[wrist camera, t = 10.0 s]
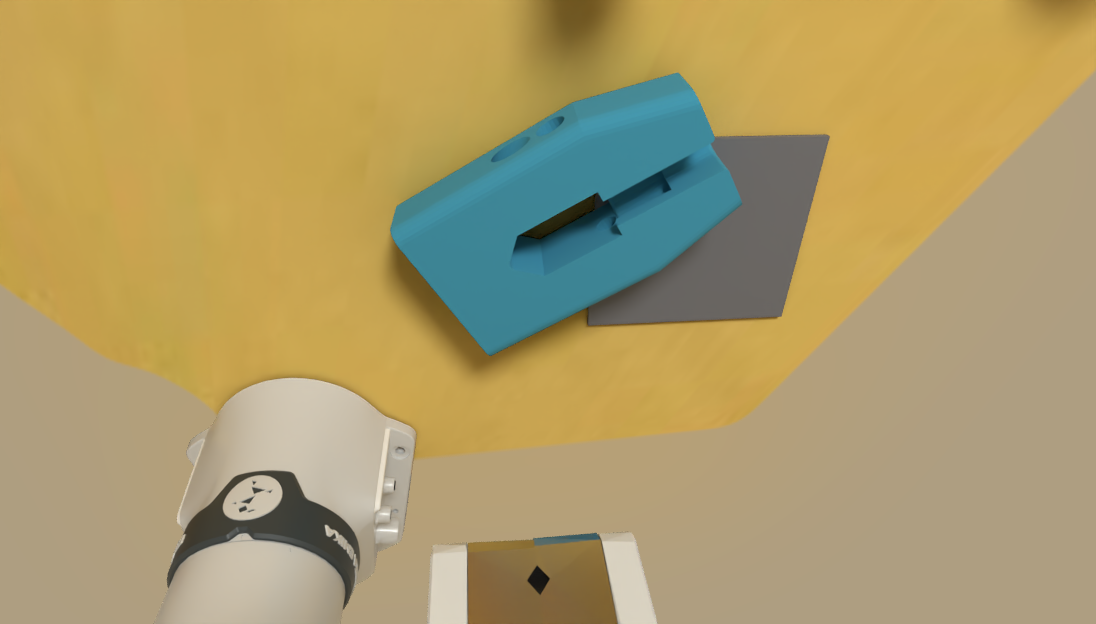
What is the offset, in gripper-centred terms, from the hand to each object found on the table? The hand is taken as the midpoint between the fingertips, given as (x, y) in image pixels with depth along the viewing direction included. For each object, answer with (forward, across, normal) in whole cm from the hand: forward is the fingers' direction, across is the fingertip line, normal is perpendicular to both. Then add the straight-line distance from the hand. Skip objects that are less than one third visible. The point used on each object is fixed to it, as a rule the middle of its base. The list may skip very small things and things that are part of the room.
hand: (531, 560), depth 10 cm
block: (+32, +14, -4) cm, 35 cm away
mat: (+35, +16, -13) cm, 41 cm away
